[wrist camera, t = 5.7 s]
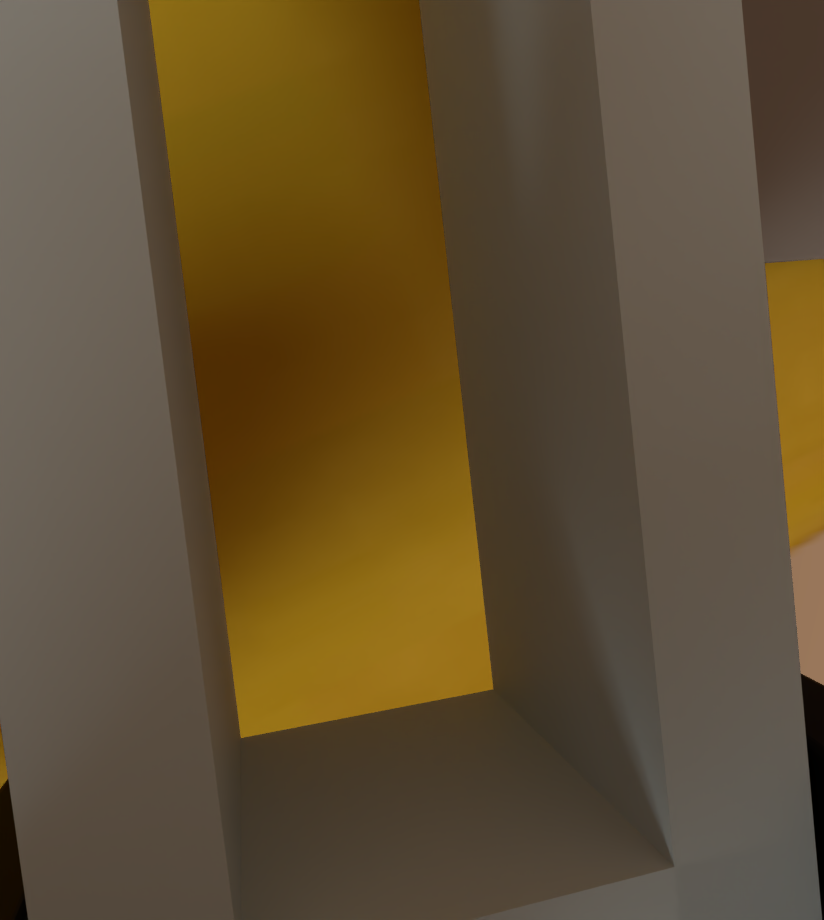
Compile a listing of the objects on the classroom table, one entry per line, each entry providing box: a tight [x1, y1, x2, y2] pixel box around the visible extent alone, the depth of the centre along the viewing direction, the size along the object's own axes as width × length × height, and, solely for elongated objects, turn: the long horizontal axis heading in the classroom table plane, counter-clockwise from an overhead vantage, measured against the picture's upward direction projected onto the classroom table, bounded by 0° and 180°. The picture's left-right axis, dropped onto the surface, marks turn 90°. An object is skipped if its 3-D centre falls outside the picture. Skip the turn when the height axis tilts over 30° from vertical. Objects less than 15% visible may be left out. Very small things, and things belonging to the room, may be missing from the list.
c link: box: [0, 0, 822, 920], centre depth 8 cm, size 13×6×4 cm, turn 1°
